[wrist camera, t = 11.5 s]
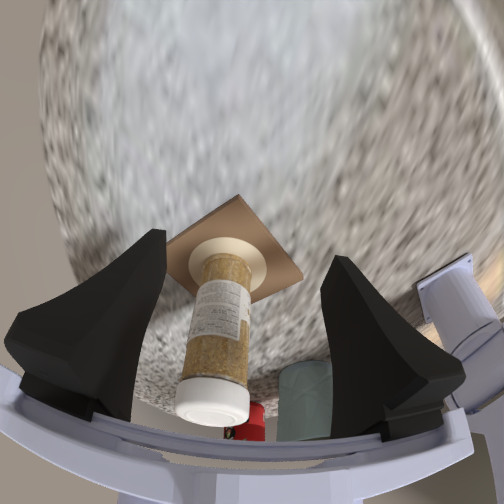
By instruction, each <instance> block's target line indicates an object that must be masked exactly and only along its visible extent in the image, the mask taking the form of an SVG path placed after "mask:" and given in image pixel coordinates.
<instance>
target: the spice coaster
mask: <svg viewBox="0 0 504 504" xmlns="http://www.w3.org/2000/svg"><path fill="white" fill-rule="evenodd" d="M166 249H167V271H166V272H167V273H168V274H169V275H170V276H172V277H173V278H174V279H175V280H176V281H177V282H178V283H180V284H181V285H182V286H183V287H184V288H185V289H187V290H188V291H189V292H190V293H191V294H192V295H194V296H195V297H196V296H197V292H198V290H199V288H200V284H201V278H202V267H203V265H204V263H205V262H206V260H207V259H209V258H210V257H211V256H213V255H216V254H221V253H227V254H234V255H237V256H239V257H241V258H242V259H244V260H245V261H246V262H247V263H248V264H249V266H250V267H251V271H252V279H251V283H250V298H251V304H252V303H255V302H257V301H259V300H261V299H263V298H265V297H268V296H270V295H272V294H274V293H276V292H278V291H280V290H283V289H285V288H287V287H289V286H291V285H293V284H295V283H297V282H299V281H301V280H303V273H302V272H301V271H300V270H299V268H298V267H297V266H296V265H295V263H294V262H293V261H292V259H291V258H290V257H289V256H288V254H287V253H286V252H285V251H284V249H283V248H282V247H281V246H280V244H279V243H278V242H277V241H276V239H275V238H274V237H273V236H272V234H271V233H270V232H269V231H268V229H267V228H266V227H265V226H264V224H263V223H262V222H261V221H260V219H259V218H258V217H257V216H256V214H255V213H254V212H253V211H252V210H251V208H250V207H249V206H248V205H247V203H246V202H245V201H244V200H243V199H242V197H241V196H240V195H239V194H238V195H237V196H235V197H234V198H232V199H230V200H229V201H227V202H226V203H224V204H223V205H221V206H220V207H218V208H217V209H215V210H214V211H212V212H211V213H209V214H208V215H206V216H205V217H203V218H202V219H200V220H199V221H198V222H196V223H195V224H193V225H192V226H190V227H189V228H187V229H186V230H184V231H183V232H182V233H180V234H179V235H177V236H176V237H174V238H173V239H172V240H170V241H169V242H167V243H166Z"/></svg>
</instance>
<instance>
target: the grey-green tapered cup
mask: <svg viewBox="0 0 504 504" xmlns="http://www.w3.org/2000/svg"><path fill="white" fill-rule="evenodd" d="M332 405H333V378H332V365H331V364H329V363H327V362H324V361H317V360H311V361H303V362H298V363H294V364H292V365H289V366H287V367H285V368H284V369H283V370H282V371H281V373H280V375H279V402H278V415H279V416H278V423H277V441H276V442H296V441H317V440H330V433H331V422H332Z"/></svg>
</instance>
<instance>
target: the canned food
mask: <svg viewBox="0 0 504 504" xmlns="http://www.w3.org/2000/svg"><path fill="white" fill-rule="evenodd" d="M223 439H228V440H241V441H262V442H265V410H264V407H263V406H262V405H261V404H259V403H256V402H251V401H250V406H249V418H248V419H247V421H246V422H244V423H242V424H240V425H235V426H228V427H224V438H223Z"/></svg>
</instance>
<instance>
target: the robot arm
mask: <svg viewBox="0 0 504 504" xmlns="http://www.w3.org/2000/svg"><path fill="white" fill-rule="evenodd" d="M166 271H167V249H166V230H159V229H151V230H150V231H149V232H147V233H146V234H145V235H144V236H143V237H142V238H140V239H139V240H138V241H137V242H136V243H135V244H133V245H132V246H131V247H130V248H129V249H128V250H126V251H125V252H124V253H123V254H122V255H121V256H119V257H118V258H117V259H116V260H114V261H113V262H112V263H110V264H109V265H108V266H107V267H105V268H104V269H103V270H101V271H100V272H98V273H97V274H95V275H94V276H92V277H91V278H89V279H88V280H86V281H85V282H83V283H81V284H80V285H78V286H76V287H74V288H73V289H71V290H69V291H68V292H66V293H64V294H62V295H60V296H58V297H56V298H54V299H52V300H50V301H47V302H45V303H43V304H40V305H38V306H36V307H33V308H30V309H27V310H25V311H22V312H19V313H18V315H17V316H16V318H15V320H14V322H13V324H12V326H11V327H10V329H9V331H8V333H7V335H6V337H5V339H4V344H5V347H6V349H7V351H8V352H9V353H10V355H11V356H12V357H13V358H14V359H15V360H16V362H17V363H18V364H19V365H20V366H21V367H22V368H23V369H24V371H25V373H24V375H23V377H21V376H20V375H19V374H17V373H15V372H14V371H12V370H10V369H9V368H6V367H5V366H3V365H1V364H0V432H2V433H3V434H5V435H6V436H8V437H9V438H11V439H12V440H14V441H15V442H17V443H18V444H20V445H21V446H23V447H25V448H26V449H28V450H29V451H31V452H33V453H35V454H36V455H38V456H40V457H41V458H44V459H45V460H47V461H49V462H51V463H53V464H55V465H56V466H58V467H60V468H62V469H65V470H67V471H69V472H71V473H73V474H75V475H77V476H80V477H82V478H84V479H87V480H89V481H92V482H94V483H97V484H99V485H102V486H105V487H107V488H111V489H113V490H116V491H119V493H118V502H117V504H363V499H365V498H369V497H372V496H376V495H379V494H382V493H385V492H388V491H391V490H394V489H397V488H400V487H402V486H405V485H408V484H410V483H413V482H415V481H418V480H420V479H422V478H425V477H427V476H429V475H431V474H434V473H436V472H438V471H440V470H442V469H444V468H446V467H448V466H450V465H452V464H454V463H456V462H458V461H460V460H462V459H464V458H466V457H467V456H469V455H471V454H473V453H474V449H473V444H472V439H471V435H470V432H474V433H480V434H484V435H485V439H486V443H487V446H488V451H489V455H490V460H491V465H492V470H493V475H494V481H495V488H496V495H497V504H504V395H503V396H501V397H500V398H499V399H497V400H496V401H494V402H493V403H491V404H490V405H488V406H487V407H485V408H484V409H482V410H477V409H476V408H478V407H480V406H481V405H482V404H484V403H486V402H487V401H489V400H490V399H492V398H493V397H494V396H496V395H497V394H499V393H500V392H501V391H503V390H504V323H503V324H502V323H501V322H500V320H499V319H498V317H497V315H496V313H495V311H494V310H493V308H492V306H491V304H490V303H489V301H488V299H487V298H486V296H485V294H484V293H483V291H482V290H481V288H480V287H479V285H478V283H477V282H476V280H475V279H474V277H473V261H472V254H471V253H468V254H466V255H464V256H463V257H461V258H460V259H458V260H456V261H455V262H453V263H451V264H450V265H448V266H446V267H445V268H443V269H441V270H440V271H438V272H436V273H434V274H433V275H431V276H429V277H427V278H426V279H424V280H422V281H420V282H419V283H418V284H417V290H418V294H419V298H420V302H421V306H422V310H423V314H424V319H425V323H426V324H429V323H431V322H433V323H434V325H435V328H436V330H437V332H438V335H439V337H440V339H441V342H442V344H443V346H444V349H445V351H444V350H443V349H441V348H440V347H438V346H437V345H435V344H434V343H432V342H431V341H430V340H428V339H427V338H426V337H424V336H423V335H422V334H421V333H420V332H418V331H417V330H416V329H415V328H413V327H412V326H411V325H410V324H409V323H408V322H407V321H406V320H405V319H404V318H402V317H401V316H400V315H399V314H398V313H397V312H396V311H395V310H394V309H393V308H392V307H391V306H390V304H389V303H388V302H387V301H386V300H385V299H384V298H383V297H382V296H381V295H380V293H379V292H378V291H377V290H376V289H375V288H374V287H373V285H372V284H371V283H370V282H369V281H368V279H367V278H366V277H365V276H364V275H363V273H362V272H361V271H360V270H359V269H358V268H357V266H356V265H355V264H354V263H353V262H352V261H351V260H350V259H349V258H348V257H344V256H338V255H335V257H334V259H333V261H332V264H331V266H330V268H329V270H328V273H327V275H326V277H325V279H324V281H323V284H322V286H321V288H320V292H321V306H322V312H323V317H324V322H325V327H326V332H327V337H328V342H329V347H330V353H331V361H332V378H333V405H332V422H331V433H330V440H317V441H296V442H262V441H241V440H228V439H217V438H208V437H200V436H193V435H187V434H181V433H175V432H169V431H164V430H159V429H154V428H150V427H146V426H142V425H137V424H133V423H130V421H131V408H132V399H133V391H134V384H135V378H136V372H137V367H138V361H139V356H140V352H141V347H142V343H143V339H144V335H145V332H146V329H147V326H148V323H149V321H150V318H151V315H152V313H153V310H154V308H155V305H156V302H157V300H158V297H159V294H160V292H161V289H162V286H163V282H164V278H165V274H166ZM443 399H445V401H446V404H447V405H448V407H449V409H450V410H451V411H448V412H446V413H444V414H441V410H440V409H442V408H443V407H444V403H443ZM138 445H139V446H138ZM141 446H143V447H141ZM144 447H147V448H151V449H157V450H161V451H166V452H171V453H176V454H183V455H189V456H196V457H203V458H212V459H222V460H235V461H259V462H280V461H281V462H283V461H306V460H318V459H329V458H335V459H329V460H325V461H324V462H323V463H321V464H318V465H315V466H312V467H308V468H306V469H280V470H255V469H228V468H211V467H201V466H191V465H183V464H176V463H170V461H169V460H167V459H165V458H162V454H161V453H160V452H157V451H153V450H150V449H146V448H144ZM336 457H339V458H336Z"/></svg>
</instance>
